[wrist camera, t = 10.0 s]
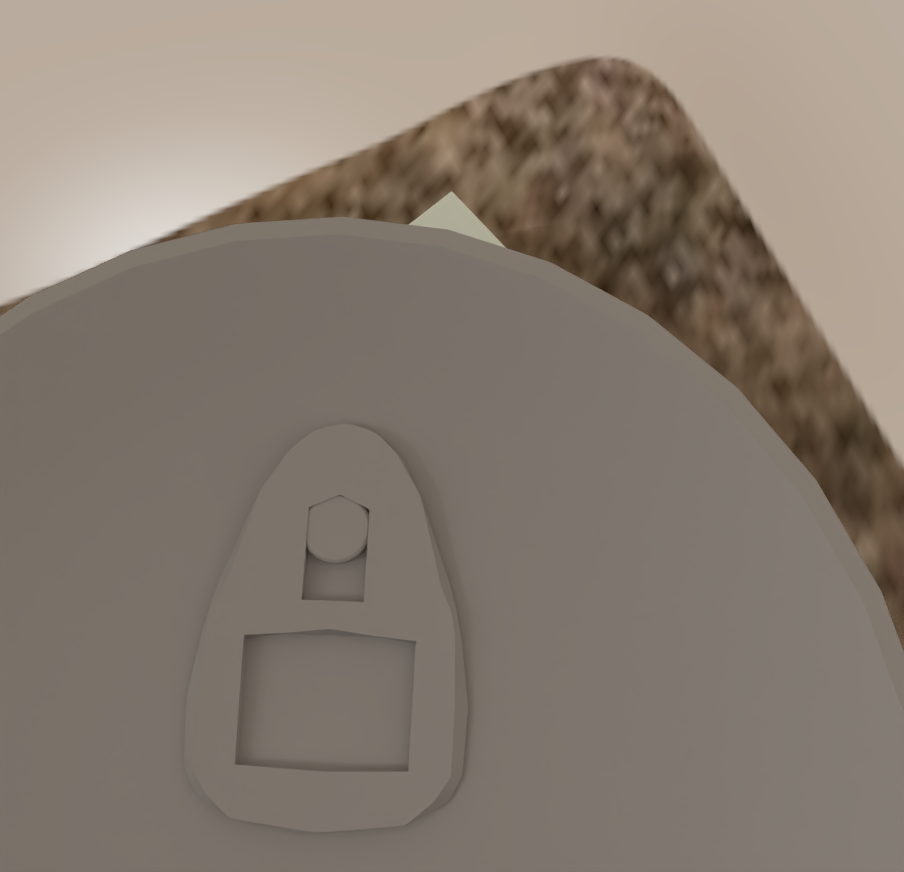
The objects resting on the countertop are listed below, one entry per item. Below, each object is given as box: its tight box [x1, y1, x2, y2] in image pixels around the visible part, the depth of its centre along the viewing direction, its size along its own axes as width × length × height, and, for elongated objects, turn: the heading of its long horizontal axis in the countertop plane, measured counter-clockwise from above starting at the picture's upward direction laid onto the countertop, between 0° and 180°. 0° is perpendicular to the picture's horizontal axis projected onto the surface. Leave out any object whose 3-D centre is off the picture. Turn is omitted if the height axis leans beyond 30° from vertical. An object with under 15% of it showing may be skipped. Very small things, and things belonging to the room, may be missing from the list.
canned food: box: [0, 217, 904, 872], centre depth 10 cm, size 8×8×11 cm
